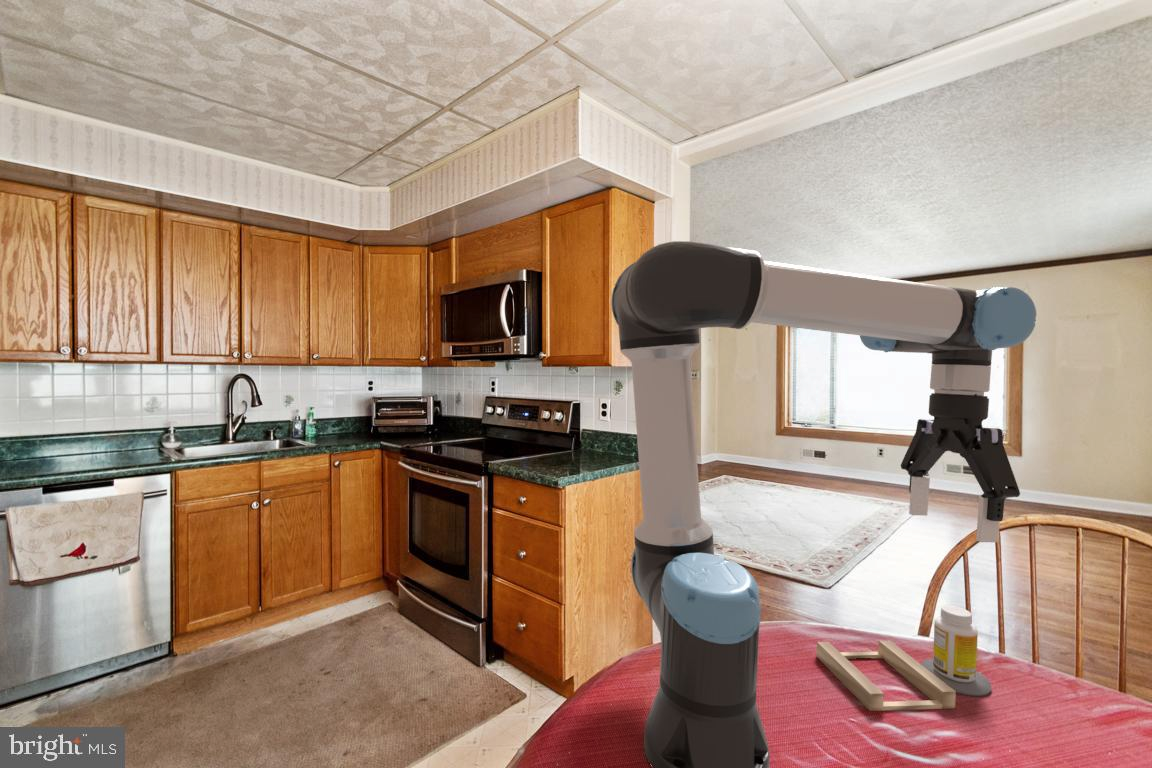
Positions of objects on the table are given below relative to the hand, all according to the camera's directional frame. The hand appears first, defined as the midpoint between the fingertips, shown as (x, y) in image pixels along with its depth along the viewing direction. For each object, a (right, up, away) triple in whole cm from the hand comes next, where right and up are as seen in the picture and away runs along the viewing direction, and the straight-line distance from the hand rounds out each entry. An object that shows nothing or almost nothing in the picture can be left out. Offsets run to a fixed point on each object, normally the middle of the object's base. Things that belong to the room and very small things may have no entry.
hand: (949, 527), depth 82 cm
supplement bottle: (+1, -24, +1) cm, 24 cm away
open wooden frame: (-11, -24, 0) cm, 26 cm away
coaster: (+1, -24, +1) cm, 24 cm away
